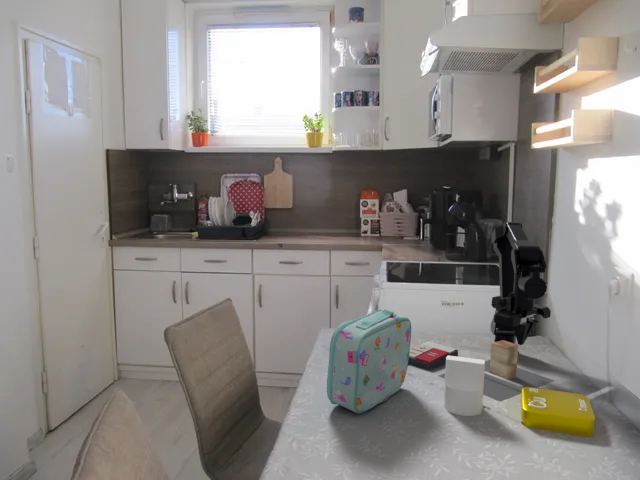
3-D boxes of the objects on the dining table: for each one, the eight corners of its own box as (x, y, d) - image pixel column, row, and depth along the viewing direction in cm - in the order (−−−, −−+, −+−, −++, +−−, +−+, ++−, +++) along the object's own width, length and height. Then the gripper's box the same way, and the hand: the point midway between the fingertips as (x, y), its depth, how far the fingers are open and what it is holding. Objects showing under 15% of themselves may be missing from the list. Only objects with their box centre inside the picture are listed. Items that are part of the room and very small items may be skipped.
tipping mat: (492, 361, 167) (492, 355, 166) (554, 383, 151) (555, 376, 150) (437, 378, 153) (438, 371, 152) (499, 404, 137) (500, 396, 136)
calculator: (398, 352, 163) (427, 339, 174) (398, 366, 164) (427, 352, 175) (430, 362, 156) (458, 347, 166) (429, 376, 156) (458, 361, 167)
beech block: (500, 371, 157) (502, 340, 156) (516, 376, 153) (518, 344, 152) (489, 374, 154) (491, 343, 153) (504, 380, 150) (507, 348, 149)
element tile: (595, 440, 121) (596, 419, 120) (521, 428, 125) (522, 408, 125) (586, 411, 135) (587, 392, 134) (520, 401, 139) (521, 383, 139)
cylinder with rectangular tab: (483, 403, 137) (485, 356, 136) (480, 418, 129) (484, 368, 127) (445, 397, 140) (448, 351, 139) (441, 412, 132) (443, 363, 130)
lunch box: (378, 376, 153) (380, 300, 150) (412, 385, 147) (415, 306, 144) (321, 410, 132) (323, 321, 129) (358, 422, 126) (361, 330, 123)
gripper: (518, 281, 166) (515, 332, 169) (479, 288, 155) (475, 342, 158) (553, 288, 158) (549, 341, 160) (513, 296, 147) (509, 353, 149)
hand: (520, 344), depth 157 cm, fingers closed
